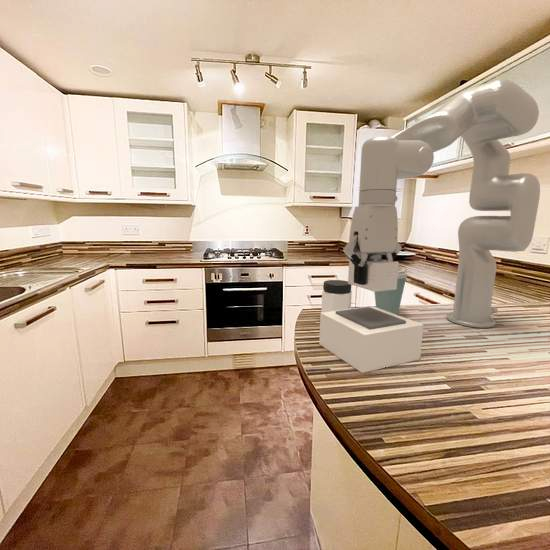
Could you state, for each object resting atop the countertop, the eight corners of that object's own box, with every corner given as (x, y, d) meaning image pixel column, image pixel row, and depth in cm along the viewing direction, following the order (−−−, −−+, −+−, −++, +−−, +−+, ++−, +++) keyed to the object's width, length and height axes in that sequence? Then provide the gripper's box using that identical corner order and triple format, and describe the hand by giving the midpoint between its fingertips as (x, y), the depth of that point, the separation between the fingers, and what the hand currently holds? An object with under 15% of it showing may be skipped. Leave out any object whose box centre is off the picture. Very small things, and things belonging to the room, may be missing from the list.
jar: (326, 315, 100) (327, 278, 98) (352, 319, 96) (354, 281, 94) (318, 323, 92) (319, 283, 89) (346, 327, 88) (348, 286, 86)
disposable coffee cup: (382, 320, 96) (385, 271, 93) (363, 310, 106) (365, 266, 103) (411, 317, 98) (415, 270, 96) (390, 308, 109) (393, 265, 106)
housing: (368, 281, 75) (370, 251, 74) (396, 289, 67) (399, 255, 66) (347, 283, 73) (349, 251, 71) (374, 291, 65) (377, 256, 63)
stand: (370, 334, 83) (372, 303, 82) (420, 359, 69) (423, 321, 67) (319, 344, 77) (320, 310, 75) (362, 373, 62) (364, 332, 61)
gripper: (394, 202, 73) (388, 277, 77) (333, 199, 66) (329, 282, 70) (420, 200, 67) (412, 283, 70) (355, 197, 60) (350, 289, 63)
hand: (371, 281), depth 70 cm, fingers closed on housing, 6 cm apart
